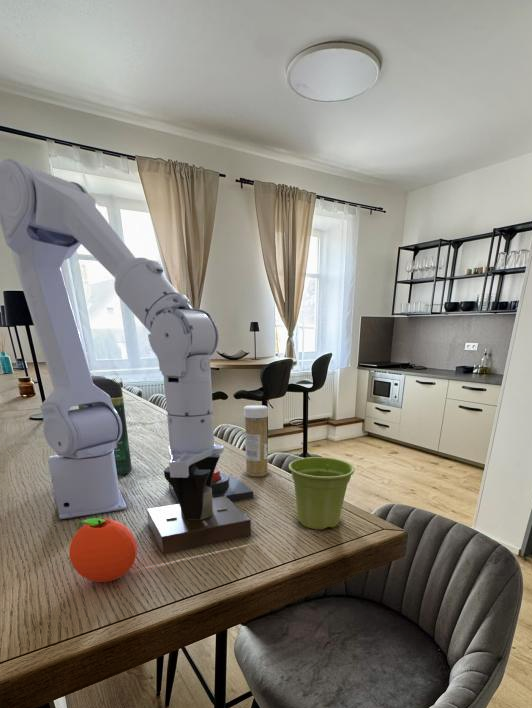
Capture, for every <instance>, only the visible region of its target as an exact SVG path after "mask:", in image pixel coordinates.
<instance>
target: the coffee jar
mask: <svg viewBox="0 0 532 708" xmlns="http://www.w3.org/2000/svg"><path fill="white" fill-rule="evenodd" d="M91 378H92V381H93V384H94V385H95V386H97V387H98V388H100V389H101V390H103V391H104V392H105V393H107V394H108V395H109V396H110V399H111V402H112V405H113V407H114V409H115V411H116V412H117V413H118V415H119V417H120V419H121V423H122V435H121V438H120V439H119V440H118V441H117V442H116V443H117V448H115V449H114V457H115V464H116V471H117V477H120V476H122V475H125V474H130V473H131V472H132V469H133V467H132V459H131V451H130V442H129V435H128V426H127V417H126V410H125V401H124V394H123V388H122V384H121V383H120V382H118V381H115V380H113V379H111V378H107V377H105V376H103V375H102V376H101V375H91ZM77 406H78V409H81V408H87V406H85V405H77Z"/></svg>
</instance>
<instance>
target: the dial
mask: <svg viewBox="0 0 532 708" xmlns="http://www.w3.org/2000/svg"><path fill="white" fill-rule="evenodd" d="M212 514H213V500H212V489H211V488H210V487H208V486H205V489H204V497H203V509H202V515H201V518H200V519H188V520H201V519H206V518H208V517H210V516H212ZM181 516H182V517H183V518H184V515H183V513H182V510H181Z"/></svg>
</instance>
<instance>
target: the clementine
mask: <svg viewBox="0 0 532 708" xmlns="http://www.w3.org/2000/svg"><path fill="white" fill-rule="evenodd" d="M83 523H85V524H84V525H83ZM82 525H83V526H82ZM81 526H82V527H81ZM137 545H138V544H137V540H136V537H135V535H134V534H133V532H132V531H131V530H130V529H129V528H128V527H127V526H126V525H125V524H123V523H122V522H120V521H117V520H114V519H110V518H100V517H99V518H98V517H90V518H88V519H84V520H83V521H80V522H79V523H78V524H77V531H76V532H75V534H74V535H73V536H72V538H71V541H70V545H69V548H68V556H69V560H70V563H71V565H72V567H73V569H74V570H75V571H76V573H77V574H78V575H80V576H81V577H83V578H84V579H86V580H87V581H88V580H89V581H91V582H96V583H108V582H112V581H113V582H114V581H115V580H117V579H120V578H121V577H122V576H124V575H125V574H126V573H128V572H129V571H130V569H131V568H132V567H133V565H134V563H135V561H136V558H137V555H138V546H137Z"/></svg>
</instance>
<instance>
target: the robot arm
mask: <svg viewBox="0 0 532 708" xmlns="http://www.w3.org/2000/svg"><path fill="white" fill-rule="evenodd" d="M0 227H1V230H2V231H1V232H2V234H3V237H4V240H5V243H6V245H7V247H8V248H9V249H10V250H11V255H12V258H13V262H14V265H15V268H16V271H17V275H18V278H19V281H20V285H21V287H22V292H23V294H24V297H25V301H26V303H27V307H28V310H29V313H30V316H31V320H32V324H33V326H34V330H35V333H36V336H37V339H38V343H39V345H40V350H41V352H42V356H43V359H44V362H45V365H46V366H45V367H46V368H47V372H48V375H49V379H50V381H51V384H52V388H53V390H52V391H51V392H50V394H49V395H48V396H47V397H46V398H45V399H44V401H43V402H42V403H41V404H40V407H39V408H40V410H41V414H42V421H43V426H42V429H43V431H42V432H43V435H44V438H45V441H46V443H47V445H48V446H49V447H50V448H51V449H52V451H53V452H55V453H56V454H57V455H50V456H48V457H47V458H48V466H49V472H50V478H51V484H52V487H53V492H52V496H53V501H54V504H55V505H56V507H57V512H58V518H59V520H65V519H66V520H67V519H73V518H79V517H85V516H91V515H97V514H104V513H109V512H116V511H122V510H126V509H127V505H126V502H125V500H124V497H123V494H122V493H121V491H120V486H119V478H118V476H117V471H116V464H115V457H114V449H115V448H117V443H116V442H117V441H118V440H119V439H120V438H121V435H122V423H121V419H120V417H119V415H118V413H117V412H116V411H115V409H114V407H113V405H112V402H111V399H110V396H109V395H108V394H107V393H105V392H104V391H103V390H101V389H100V388H98V387H97V386H95V385H94V384H93V381H92V378H91V376H92V375H91V371H90V368H89V364H88V361H87V356H86V353H85V350H84V346H83V342H82V339H81V336H80V331H79V329H78V325H77V321H76V318H75V315H74V311H73V308H72V307H73V306H72V303H71V300H70V296H69V292H68V289H67V285H66V282H65V278H64V275H63V271H62V265H63V263H64V261H66V260H69V259H72V257H73V255H74V254H75V253H76V252H77V250H78V249H79V247H81V245H82V247H84V249H85V250H87V252H89V254H90V255H91V256H92V257H94V258H95V260H97V262H98V263H99V264H100V265H101V266H102V267H103V268H104V269H105V270H106V271H108V273H109V274H110V275H111V276H113V278H114V280H113V281H114V282H113V286H114V287H113V288H114V291H115V294H116V295H117V297H119V299H120V300H121V302H123V304H124V305H125V306H126V307H127V308H128V310H129V311H131V313H133V315H134V316H135V317H136V318H137V320H139V322H140V323H141V324H142V325H143V326H144V327H145V329H146V330H147V331H148V332H149V334H147V339H148V342H149V345H150V348H151V350H152V352H153V354H154V355H155V356H156V358H157V360H158V367H159V368H158V369H159V372H161V375H162V376H163V383H164V395H165V406H166V419H167V428H168V429H167V430H168V438H169V446H168V454H169V455H168V456H169V459H170V460H169V461H168V465H169V466H167V467H165V469H163V476H164V479H165V480H166V481H167V482H168V485H169V484H170V485H171V486H172V488H173V490H174V492H175V494H176V496H177V498H178V501H179V503H178V504H180V507H181V510H182V513H183V515H184V518H185V519H200V518H201V515H202V509H203V497H204V489H205V486H208V487H210V488H211V485H212V479H213V474H214V470H215V468H217V464H218V462H219V460H220V457H221V454H223V452H224V451H225V450H224V449H225V447H224V445H223V444H215V431H214V430H215V429H214V428H215V427H214V412H213V410H214V408H213V407H214V406H213V389H212V388H213V387H212V369H211V368H212V367H211V357H212V355H214V354H215V352H216V350H217V348H218V345H219V330H218V327H217V323H216V322H215V321H214V319H213V318H212V316H211V314H210V312H208V311H207V310H205V309H202V308H193V307H192V305H191V304H189V302H190V299H189V298H188V297H187V295H186V294H184V293H180V292H179V291H178V290H177V289H176V287H175V286H174V285H173V284H172V283H171V282H170V280H169V279H167V278H166V276H165V275H164V274H163V273H164V271H165V268H164V267H163V266H162V265H161V264H160V263H159V261H155V260H150V259H149V258H146V257H135V255H134V254H133V253H132V252H131V250H130V248H129V247H128V246H127V245H126V244H125V242H124V241H123V240H122V239H121V237H120V236H119V235H118V233H117V232H116V231H115V229H113V227H112V226H111V224H110V222H108V221H107V219H106V218H105V216H103V214H102V213H101V212H100V210H99V206H98V201H97V199H96V198H94V197H93V196H92V195H91V194H90V193H89V192H88V190H87V189H86V188H85V186H83V185H82V184H80V183H79V182H74V181H68V180H66V179H63V178H60V177H58V176H55V175H52V174H51V173H47V172H44V171H41V170H39V169H37V168H34V167H30V166H28V165H25V164H23V163H21V162H20V161H19V160H17V159H14V158H5V159H3V160H1V162H0ZM78 405H85V406H87V408H81V409H79V408H75V409H71V408H72V407H75V406H78ZM178 501H177V502H178Z"/></svg>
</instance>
